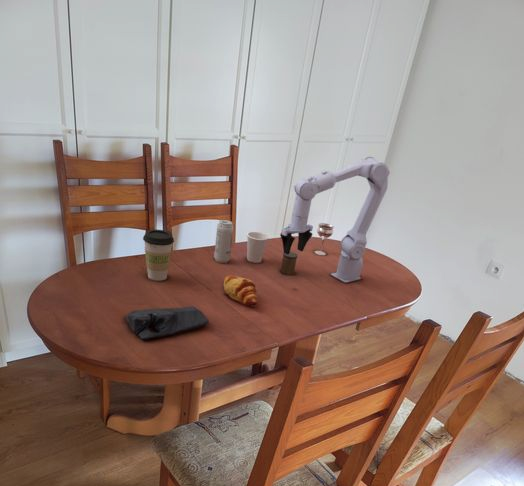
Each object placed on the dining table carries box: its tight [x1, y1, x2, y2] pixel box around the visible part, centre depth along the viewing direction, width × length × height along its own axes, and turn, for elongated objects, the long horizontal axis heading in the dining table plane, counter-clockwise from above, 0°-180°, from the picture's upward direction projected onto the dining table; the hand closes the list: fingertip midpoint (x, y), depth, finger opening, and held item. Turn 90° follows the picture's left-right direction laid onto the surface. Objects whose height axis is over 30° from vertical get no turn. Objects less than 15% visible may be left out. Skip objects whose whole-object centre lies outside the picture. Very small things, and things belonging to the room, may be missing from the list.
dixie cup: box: [246, 231, 269, 264], centre depth 184 cm, size 8×8×10 cm
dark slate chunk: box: [125, 305, 209, 341], centre depth 134 cm, size 15×22×5 cm
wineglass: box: [314, 222, 335, 256], centre depth 202 cm, size 7×7×12 cm
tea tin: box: [280, 251, 299, 276], centre depth 180 cm, size 6×6×7 cm
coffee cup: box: [142, 229, 175, 282], centre depth 157 cm, size 10×10×15 cm
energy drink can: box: [213, 219, 234, 264], centre depth 177 cm, size 6×6×15 cm
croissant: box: [223, 274, 258, 307], centre depth 156 cm, size 21×10×8 cm, turn 30°
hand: (293, 251), depth 173 cm, fingers open, 7 cm apart
